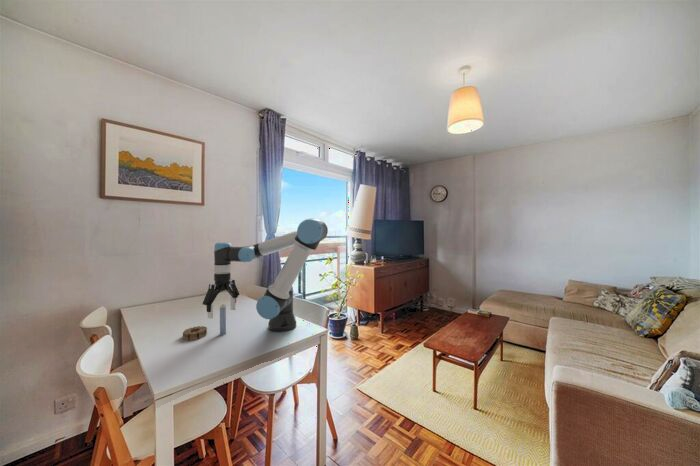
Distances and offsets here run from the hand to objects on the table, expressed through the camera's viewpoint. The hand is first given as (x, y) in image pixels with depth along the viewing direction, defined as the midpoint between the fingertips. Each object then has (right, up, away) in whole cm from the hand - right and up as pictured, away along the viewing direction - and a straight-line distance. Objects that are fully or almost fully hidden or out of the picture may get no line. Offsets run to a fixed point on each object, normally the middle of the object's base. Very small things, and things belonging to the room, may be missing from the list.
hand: (222, 313), depth 127 cm
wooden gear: (-12, -11, -2) cm, 16 cm away
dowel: (0, -11, 0) cm, 11 cm away
